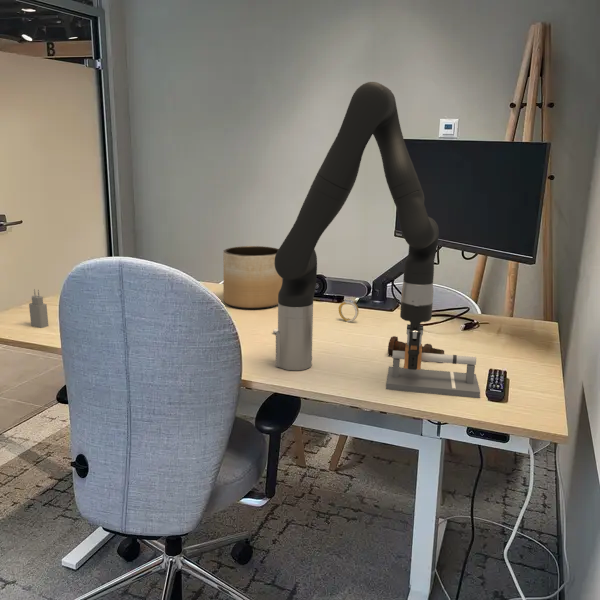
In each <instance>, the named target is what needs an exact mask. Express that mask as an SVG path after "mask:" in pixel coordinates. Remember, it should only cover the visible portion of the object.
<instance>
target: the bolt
mask: <svg viewBox="0 0 600 600" xmlns="http://www.w3.org/2000/svg"><path fill="white" fill-rule="evenodd" d="M406 343H407V342H404V341H399V338H398V336H396V335H393V336H391V337H390V339H389V341H388V345H387V354H388V356H390V357H392V356H393V350H395V351H405V346H406ZM422 353H432V354H445V350H444V349H439V348H436V347H433V345H432V344H431V343H425V344H424V345H422Z"/></svg>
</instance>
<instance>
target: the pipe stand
mask: <svg viewBox="0 0 600 600" xmlns="http://www.w3.org/2000/svg"><path fill="white" fill-rule="evenodd" d="M391 357H392V358H391V359H392V366H388V368H387V369H388V370H387V374H386V375H387V376H386V381H385V390H389V391H401V392H411V393H421V394H422V393H423V394H433V395H443V396H444V395H445V396H453V397H454V396H456V397H463V398H474V399H475V398H477V399H480V398H481V390H480V386H479V382H478V378H477V374H476V373H475V370H476V369H475V368H476V367H475V366H477V357H476V356H471V355H470V356H469V355H458V354H445V353H444V354H432V353H422V357H421V362H431V363H433V362H434V363H444V364H453V365H457V364H458V365H466V372H459V371H448V370H447V371H446V370H444V371H443V370H434V369H424V368H422V369H421V370H418V369H416V370H410V369H407V368H404V367H401V366H400V365H401V364H400V362H401V360H405V351H395V350H393V356H391Z"/></svg>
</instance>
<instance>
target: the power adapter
mask: <svg viewBox="0 0 600 600" xmlns="http://www.w3.org/2000/svg"><path fill="white" fill-rule="evenodd" d="M33 291H34V292H33V294H34V295H31V303H28V304H29V305H28V307H29V308H28V309H29V317H30V326H31V327H34V328H38V329H44V328H47V327H49V316H48V315H49V314H48V308H47V307H48V305H47V303H44V299H43V298H44V296H42V295H40V291H39V289H37V294H36V289H35V288H34V289H33Z"/></svg>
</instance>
